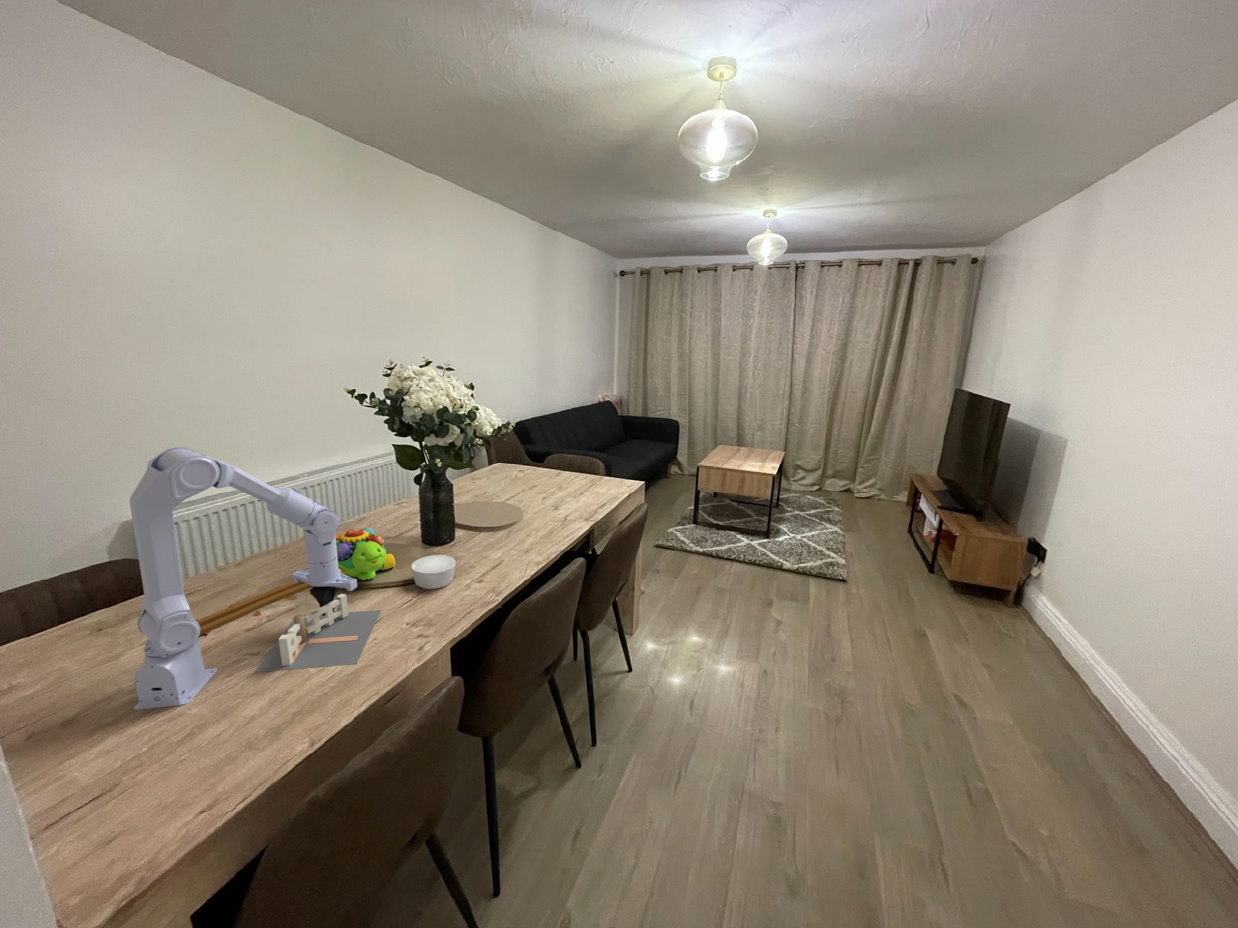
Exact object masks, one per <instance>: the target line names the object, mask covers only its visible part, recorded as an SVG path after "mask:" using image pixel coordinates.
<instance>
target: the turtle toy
mask: <svg viewBox="0 0 1238 928" xmlns="http://www.w3.org/2000/svg"><path fill="white" fill-rule="evenodd" d="M335 537H336V547H337V557H338V568H339V569H340V570H341V572H340V573H342V574H344V575H346V576H348V577H350V578H357V580H360V579H361V581H367V580H366V579H368V580H371V579H373V578H375V577H376V572H377V571H382V570H381V569H387V568H391V567H394V568H395V566H396V559H395V557H394V555H393V553H388V554H387V551H386V548H385V546H384V545H385V540H384V538H383V537H382V535H377V534H376V533H375V530H373V529H372V528H370V527H364V528H363V527H362V528H351V529H349V530H346V532H344V533H343V534H339V535H336V534H335Z"/></svg>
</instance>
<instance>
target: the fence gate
mask: <svg viewBox="0 0 1238 928" xmlns="http://www.w3.org/2000/svg"><path fill="white" fill-rule="evenodd" d="M335 596H336V599H334V601H332V602H330V603H328V604H326V605H325V606H323V607H321V608H320V607H319V608H318V609H316V610H313V611H311V612H309V613H308V614H305V615H306V616H304V620H305V622H309V621H311V622H312V625H310V626H308V627H306V633H308V634H309V633H311V632H312V631H313V633H315V634H316V633H318V632H319V631H321V628H320V627H321V626H323V625H324V624H326V625H329V626H330V625H331V624H333V623H334V619H335V618H336V617H338V616H339V617H341V618H344V617H346V616H348V612H349V608H348V598H347V594H344V593H340V594H339V595H335ZM332 608H334V609H335V608H337V609H336V610H334V612H333V609H332ZM323 613H325V617H324V618H322V619H319V616H320V615H321V614H323Z"/></svg>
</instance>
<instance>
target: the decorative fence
mask: <svg viewBox="0 0 1238 928" xmlns="http://www.w3.org/2000/svg"><path fill="white" fill-rule="evenodd" d="M313 587H314V586H311V585H309V584H307V583H306V582H302V581H299V582H293V580H292V581H290V582H288V583H286V584H283V585H280V586H278V587H276V588H273V589H271V590H268V591H266V592H264V593H261V594H259V595H256V596H254V597H251V598H249V599H246V600H245V601H242V602H239V601H237V602H235V603H232V604H230V605H229V607H227V608H224V609H222V610H220V611H216V612H215V613H212V614H210V615H207V616H204V617H201V618H199V619H197V618H195V619H194V620H196V621H197V622H198V624H199V625H200V635H199V637H200V636H202V635H205V636H208V635H209V634H210V633H211V632H212V631H213V630H215V629H217V628H220V627H222V626H224V625H227V624H229V623H231V622H234V621H236V620H238V619H241V618H242V617H244V616H247V615H249V614H251V613H253V612H254V613H253V614H252V615H251V616H252V617H259V616H262V613H261V611H259V610H260V609H263V608H265V607H266V606H268V605H271V604H273V603H276V602H279V601H280V600H284V599H285V600H287V601H296V600H297V599H298V598H297V596H296V595H295V594H298V593H301V592H303V591H305V590H308V589H310V588H311V589H312V588H313Z"/></svg>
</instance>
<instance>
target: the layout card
mask: <svg viewBox="0 0 1238 928" xmlns="http://www.w3.org/2000/svg"><path fill="white" fill-rule="evenodd" d="M381 612H382V609H376V610H361V611H360V610H358V611H348V616H346V617H344V618H341V617H339V616H338V617H336V618H335V619H334V623H333V624H331V625H330V626H329V625H326V624H324V625H323V626H321V627H320V628H321V631H319V632H318V633H316V634H315V633H313V631H312V632H311V633H309V634H308V633H306V636H307V642H306V643H304V644H299V645H298V652H297V653H296V655H293V662H292V664H291V665H288V666H282V660H281V653H280V646H279V639H278V640H277V641H276V643H275V644H274V646H272V648H271V650H270V651H269V652H268V654H267V655H266V656H265V657H264V659H262V661H261V663H260V664H259V665H258V667H257V668H256V670H254V672H253V673H254V674H255V673H264V672H265V673H266V672H276V671H279V672H280V671H291V670H302V669H311V668H312V669H315V668H324V667H325V668H326V667H327V668H328V667H337V666H338V667H339V666H347V665H348V666H350V665H357V663H358V661H359V660H360V658H361V656H362V653H363V651H364V649H365V646H366V645H367V643H368V640H369V639H370V636H371V634H372V632H373V630H374V627H375V625H376V622H377V620H378V619H379V616H380V614H381ZM303 615H304V616H306V615H307V614H303ZM324 617H325V616H322V614H321V615H320V616H319V619H322V618H324ZM293 625H294V619H293V620H292V621H291V623H290V624H289V625H288V626H287V628H286V629H285V631H283V633H282V635H287V633H288V630H289V629H290V628H292V627H293ZM310 625H312V622H311V621H309V622H305V628H306V627H308V626H310Z"/></svg>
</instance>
